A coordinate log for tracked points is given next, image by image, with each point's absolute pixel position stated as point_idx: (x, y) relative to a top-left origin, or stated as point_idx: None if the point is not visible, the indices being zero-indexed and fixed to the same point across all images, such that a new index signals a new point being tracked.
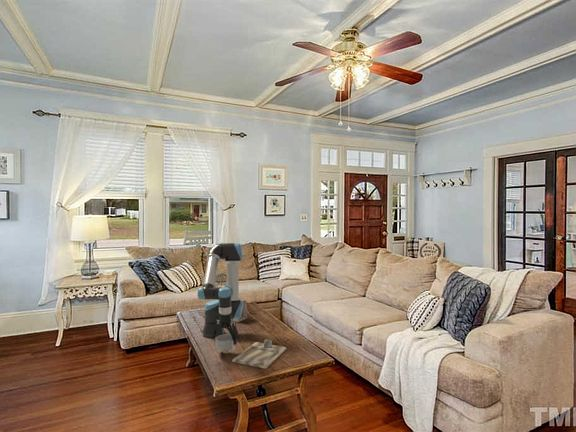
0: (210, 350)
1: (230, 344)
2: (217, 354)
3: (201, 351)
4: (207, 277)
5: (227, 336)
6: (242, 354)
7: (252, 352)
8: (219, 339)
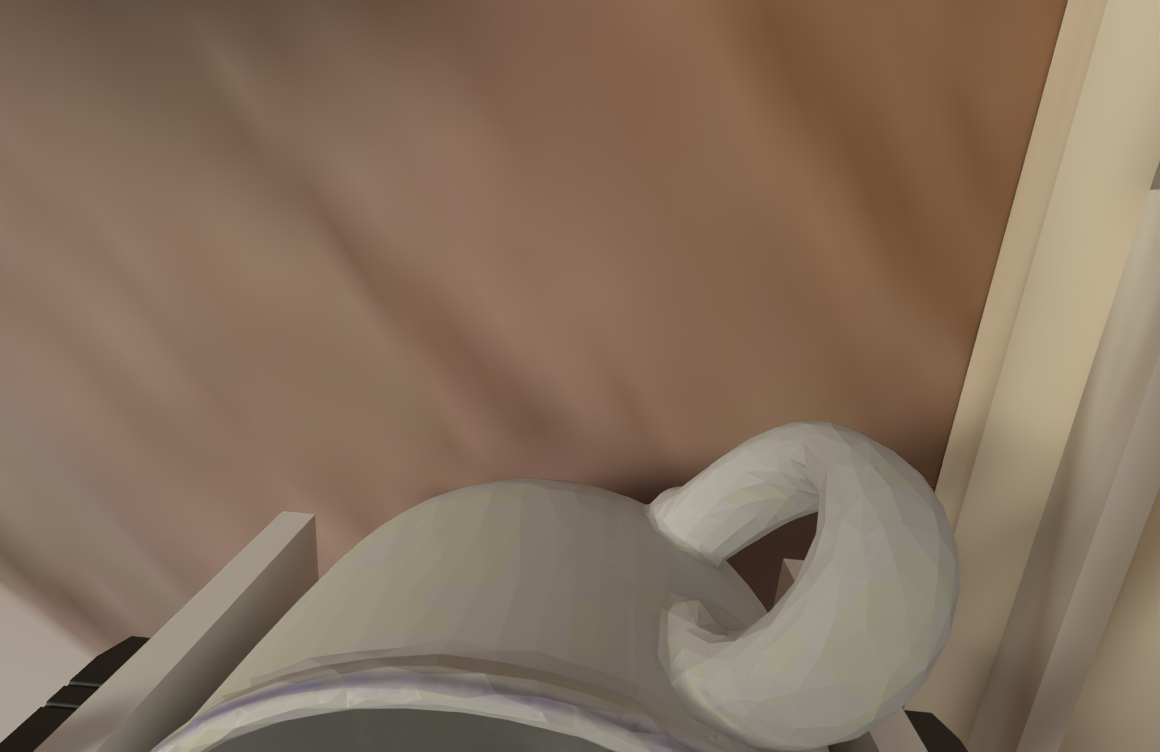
0: (171, 494)
1: None
2: None
3: (46, 578)
4: None
5: (432, 642)
6: (1062, 692)
7: None
8: (227, 749)
